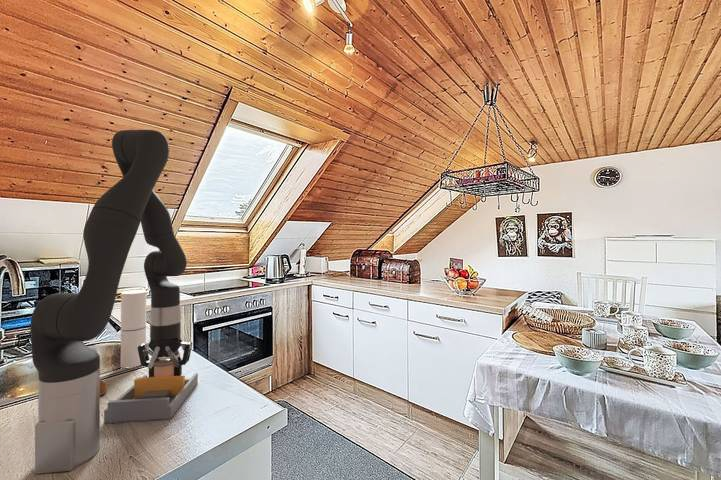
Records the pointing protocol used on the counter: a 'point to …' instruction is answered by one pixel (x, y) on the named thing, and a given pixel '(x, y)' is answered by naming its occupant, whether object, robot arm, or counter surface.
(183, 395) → the lane
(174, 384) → the pusher
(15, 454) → the counter surface
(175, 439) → the counter surface
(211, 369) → the counter surface
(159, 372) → the jar
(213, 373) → the counter surface
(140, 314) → the cylindrical container
